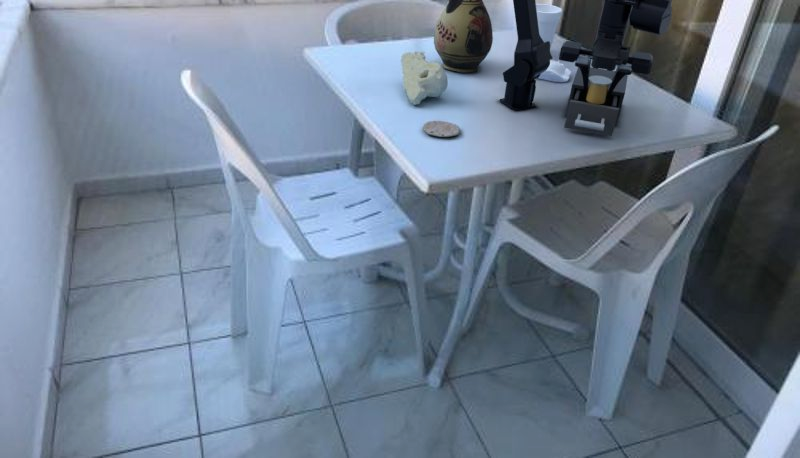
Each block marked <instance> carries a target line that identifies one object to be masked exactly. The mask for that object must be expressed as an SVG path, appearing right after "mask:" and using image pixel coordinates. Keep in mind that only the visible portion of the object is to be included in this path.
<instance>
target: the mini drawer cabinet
mask: <svg viewBox="0 0 800 458" xmlns="http://www.w3.org/2000/svg"><path fill="white" fill-rule="evenodd" d="M615 71H616V70H613V71H608V70H607V69H601V68H598V69H596V68H593V67H592V66H590V75H589V77H590V76H603V77H607V78H609V79H611V80H612V79H613V77H614V74H615ZM628 76H629V75H625V76H624V77H623V78H622V79H621V80H620V81H619V83H618V84H617V86H616V87H615V89H614V90H613V92H612V93H611V94H613V95H618V99H617V104H616V108H619V112H618V116H617V120H616V124H615V127H617V126H618V122H619V117H620V113H621V111H622V106H623V103H624V99H625V95H626V90H627V89H626V88H627V83H628ZM589 84H590V81H589ZM589 84H588V89H589ZM609 87H610V85H609ZM609 87H608V90H609ZM577 89H583V90H584V85H583V77H582V73H581V70H580V68H579V67H577V70H576V71H575V75H574V77H573V81H572V84H571V88H570V94H569V98H568V103H567V106H566V113H565V116H564V117H565V118H566V116H567V112H568V107H569V102H570V100H574V98H575V95H576V91H577ZM588 89H587V90H588ZM607 94H608V91H607Z"/></svg>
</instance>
